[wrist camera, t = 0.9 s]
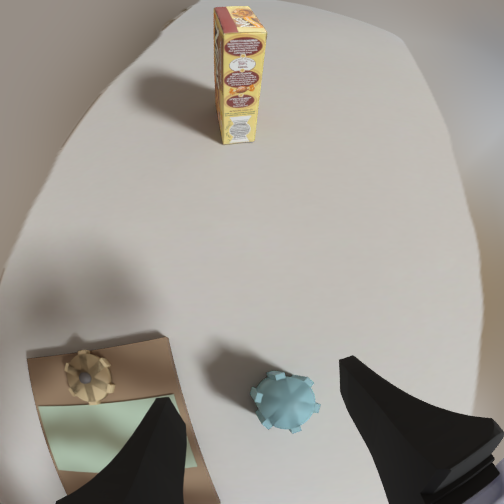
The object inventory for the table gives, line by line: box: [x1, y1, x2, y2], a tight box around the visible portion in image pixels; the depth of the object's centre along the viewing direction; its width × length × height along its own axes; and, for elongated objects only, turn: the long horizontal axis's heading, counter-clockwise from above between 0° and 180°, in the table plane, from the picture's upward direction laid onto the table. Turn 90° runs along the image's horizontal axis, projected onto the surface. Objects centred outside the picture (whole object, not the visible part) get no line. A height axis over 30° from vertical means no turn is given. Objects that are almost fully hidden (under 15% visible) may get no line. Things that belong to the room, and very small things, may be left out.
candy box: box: [214, 6, 267, 145], centre depth 27 cm, size 9×4×15 cm, turn 12°
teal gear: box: [250, 371, 321, 434], centre depth 20 cm, size 5×4×5 cm
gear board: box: [27, 337, 220, 504], centre depth 18 cm, size 17×16×3 cm
